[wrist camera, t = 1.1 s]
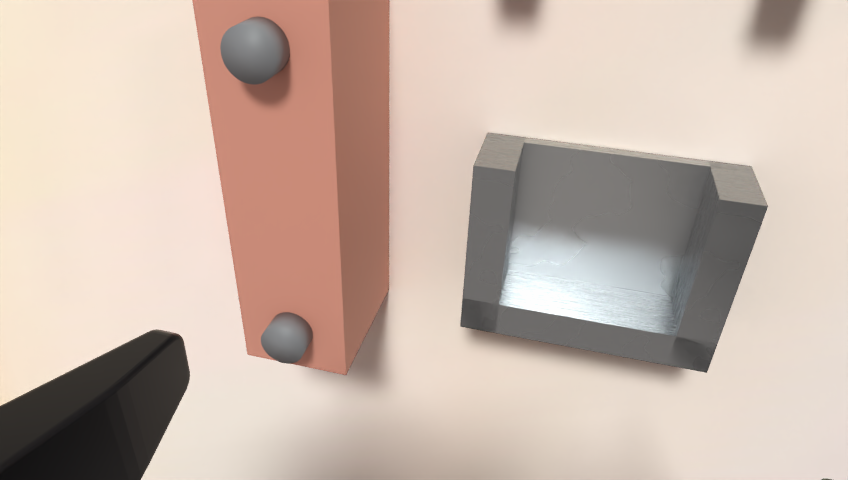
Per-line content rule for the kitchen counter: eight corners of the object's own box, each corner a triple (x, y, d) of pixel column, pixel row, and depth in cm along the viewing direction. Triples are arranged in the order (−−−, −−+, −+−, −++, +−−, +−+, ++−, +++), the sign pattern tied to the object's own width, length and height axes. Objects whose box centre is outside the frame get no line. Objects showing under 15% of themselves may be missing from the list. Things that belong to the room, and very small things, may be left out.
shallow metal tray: (698, 323, 22) (706, 372, 20) (473, 284, 24) (460, 326, 22) (939, -389, 13) (1002, -432, 11) (534, -379, 14) (521, -415, 12)
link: (390, 287, 25) (337, 392, 20) (306, 272, 26) (236, 370, 21) (391, -46, 19) (313, -6, 14) (279, -55, 19) (169, -19, 15)
